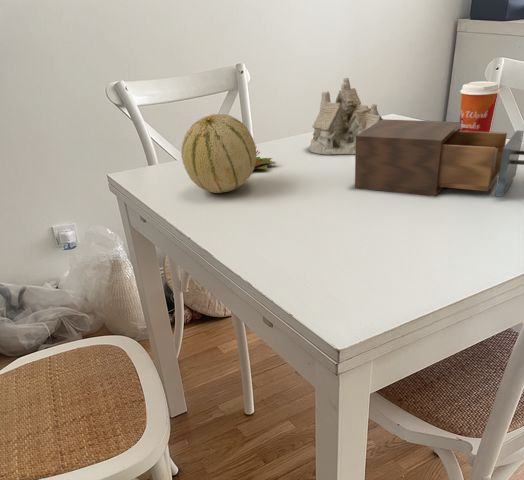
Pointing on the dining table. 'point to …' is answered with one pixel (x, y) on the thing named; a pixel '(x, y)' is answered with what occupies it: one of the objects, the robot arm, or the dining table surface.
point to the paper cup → (478, 105)
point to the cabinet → (402, 155)
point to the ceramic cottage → (341, 122)
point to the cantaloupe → (218, 153)
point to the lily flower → (262, 162)
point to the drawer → (479, 160)
